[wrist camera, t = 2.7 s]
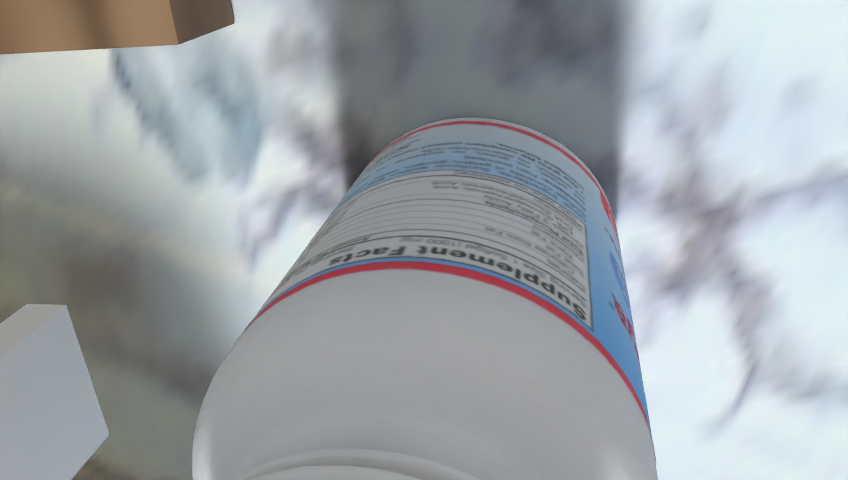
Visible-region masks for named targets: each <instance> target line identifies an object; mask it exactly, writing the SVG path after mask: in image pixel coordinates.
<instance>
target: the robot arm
mask: <svg viewBox="0 0 848 480" xmlns="http://www.w3.org/2000/svg"><path fill="white" fill-rule="evenodd" d="M109 435H110V434H109V431H108V428H107V425H106V422H105V419H104V416H103V413H102V410H101V407H100V404H99V401H98V398H97V395H96V392H95V389H94V386H93V383H92V380H91V377H90V374H89V371H88V368H87V365H86V362H85V360H84V357H83V354H82V351H81V348H80V345H79V342H78V339H77V336H76V333H75V330H74V327H73V324H72V321H71V318H70V315H69V312H68V309H67V306H66V305H52V304H26V305H24V306H23V307H22V308H20V309H19V310H18V311H16V312H15V313H14V314H12V315H11V316H10V317H8V318H7V319H6V320H4V321H3V322H2V323H0V480H71V479H72V478H73V477H74V476H75V475H76V474H77V472H78V471H79V470H80V469H81V468H82V467H83V465H84V464H85V463H86V462H87V461H88V460H89V458H90V457H91V456H92V455H93V454H94V452H95V451H96V450H97V449H98V448H99V447H100V445H101V444H102V443H103V442H104V441H105V440H106V438H107V437H108V436H109Z"/></svg>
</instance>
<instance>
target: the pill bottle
mask: <svg viewBox="0 0 848 480" xmlns="http://www.w3.org/2000/svg"><path fill="white" fill-rule="evenodd" d="M192 477H193V480H658V478H657V471H656V457H655V451H654V445H653V441H652V435H651V429H650V422H649V416H648V410H647V404H646V398H645V393H644V387H643V381H642V374H641V368H640V362H639V356H638V351H637V346H636V339H635V333H634V327H633V321H632V315H631V309H630V302H629V297H628V291H627V285H626V280H625V274H624V268H623V262H622V257H621V250H620V244H619V239H618V234H617V229H616V224H615V220H614V216H613V213H612V210H611V207H610V204H609V201H608V199H607V197H606V195H605V193H604V191H603V189H602V187H601V186H600V184H599V182H598V181H597V179H596V178H595V176H594V175H593V173H592V172H591V171H590V170H589V168H588V167H587V166H586V165H585V164H584V163H583V162H582V161H581V160H580V159H579V158H578V157H577V156H576V155H575V154H574V153H573V152H571V151H570V150H569V149H568V148H566V147H565V146H563V145H562V144H560V143H559V142H557V141H556V140H554V139H552V138H550V137H548V136H546V135H544V134H542V133H540V132H538V131H535V130H533V129H530V128H528V127H525V126H522V125H518V124H515V123H511V122H507V121H501V120H496V119H487V118H452V119H446V120H440V121H436V122H432V123H429V124H425V125H423V126H420V127H418V128H416V129H413V130H411V131H409V132H407V133H405V134H404V135H402V136H400V137H399V138H397V139H395V140H394V141H393V142H391V143H390V144H389V145H388V146H386V147H385V148H384V149H383V150H382V151H381V152H380V153H379V154H377V155H376V156H375V157H374V159H373V160H372V161H371V162H370V163H369V164H368V165H367V166H366V168H365V169H364V170H363V171H362V173H361V174H360V176H359V177H358V178H357V180H356V181H355V182H354V184H353V185H352V186H351V188H350V189H349V190H348V192H347V193H346V194H345V196H344V197H343V198H342V200H341V201H340V202H339V204H338V205H337V206H336V208H335V209H334V210H333V212H332V213H331V215H330V216H329V217H328V219H327V220H326V221H325V223H324V224H323V225H322V227H321V228H320V229H319V230H318V232H317V233H316V235H315V236H314V237H313V238H312V240H311V241H310V243H309V244H308V246H307V247H306V248H305V250H304V251H303V253H302V254H301V255H300V257H299V258H298V259H297V261H296V262H295V263H294V265H293V266H292V267H291V269H290V270H289V271H288V273H287V274H286V275H285V277H284V278H283V280H282V281H281V282H280V284H279V285H278V286H277V288H276V289H275V290H274V292H273V293H272V294H271V296H270V297H269V299H268V300H267V301H266V302H265V304H264V305H263V306H262V308H261V309H260V310H259V312H258V313H257V315H256V316H255V317H254V319H253V320H252V321H251V322H250V323H249V325H248V326H247V328H246V329H245V330H244V332H243V333H242V334H241V336H240V337H239V338H238V340H237V341H236V343H235V345H234V346H233V348H232V349H231V351H230V352H229V354H228V355H227V357H226V358H225V359H224V361H223V362H222V364H221V365H220V367H219V369H218V370H217V372H216V374H215V376H214V378H213V379H212V382H211V384H210V386H209V388H208V391H207V393H206V395H205V397H204V400H203V402H202V406H201V409H200V412H199V415H198V419H197V423H196V428H195V433H194V438H193V450H192Z"/></svg>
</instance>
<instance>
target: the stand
mask: <svg viewBox="0 0 848 480" xmlns="http://www.w3.org/2000/svg"><path fill="white" fill-rule="evenodd" d="M231 24H234V18H233V13H232V7H231V2H230V0H0V54H15V53H33V52H51V51H70V50H88V49H106V48H124V47H143V46H161V45H179V44H181V43H184V42H187V41H189V40H192V39H194V38H197V37H200V36H202V35H205V34H208V33H210V32H213V31H216V30H218V29H221V28H223V27H226V26H229V25H231Z"/></svg>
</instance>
